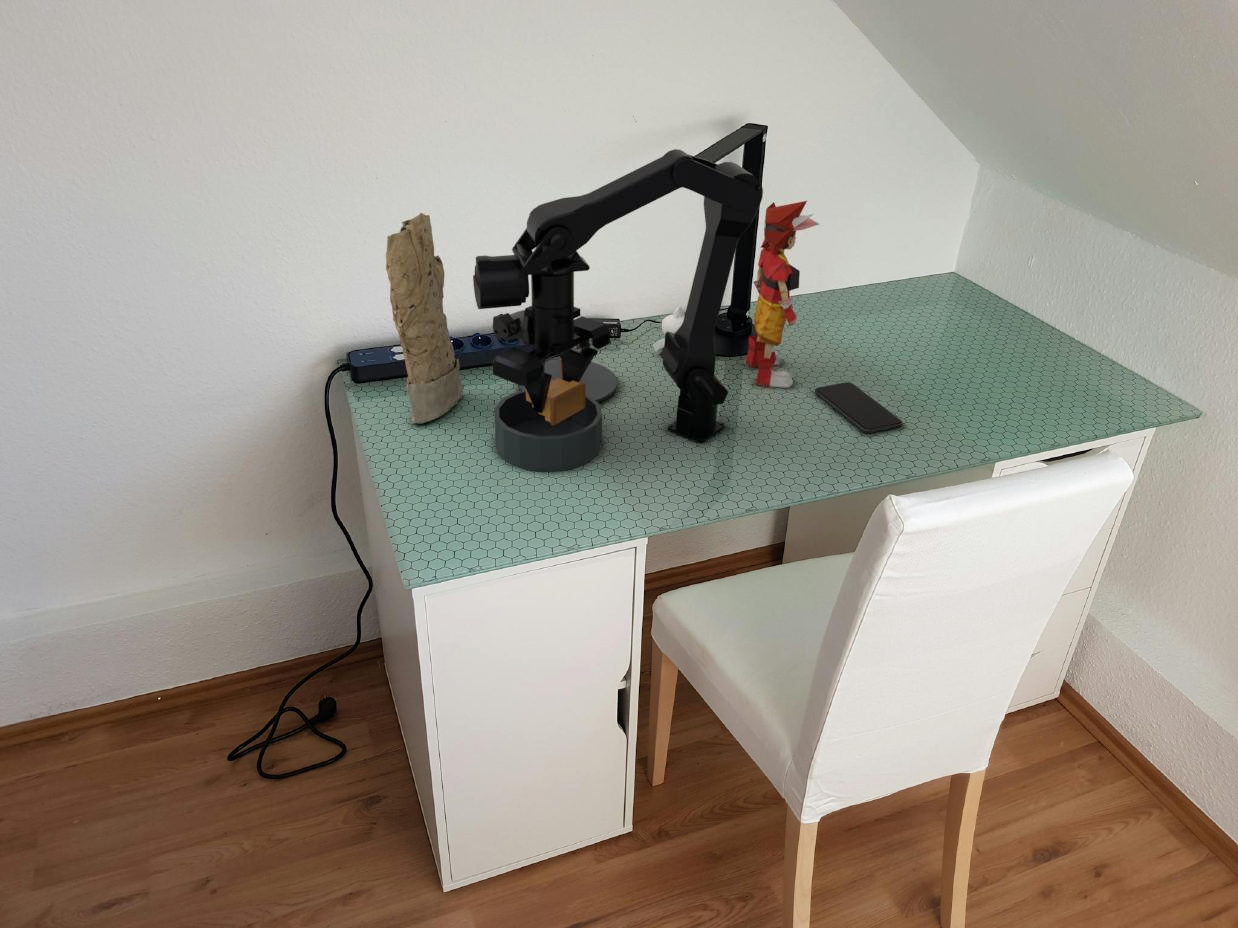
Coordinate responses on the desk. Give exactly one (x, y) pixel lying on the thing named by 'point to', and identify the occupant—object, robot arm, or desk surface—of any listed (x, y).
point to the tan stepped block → (562, 400)
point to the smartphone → (858, 407)
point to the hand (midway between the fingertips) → (553, 404)
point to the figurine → (670, 326)
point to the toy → (775, 291)
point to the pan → (546, 435)
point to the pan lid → (587, 379)
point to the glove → (422, 320)
